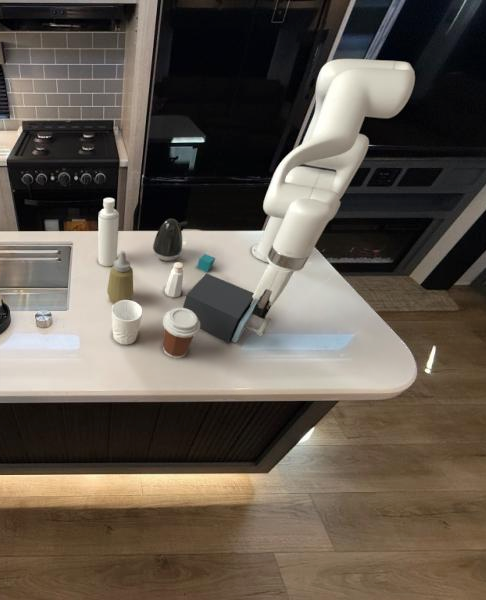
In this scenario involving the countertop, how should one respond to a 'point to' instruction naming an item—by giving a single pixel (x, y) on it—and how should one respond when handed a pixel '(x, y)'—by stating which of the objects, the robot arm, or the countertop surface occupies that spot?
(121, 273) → the squeeze bottle
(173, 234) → the pump dispenser
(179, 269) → the pepper shaker
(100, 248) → the white bottle
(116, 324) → the white cup
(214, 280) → the dark grey drawer cabinet
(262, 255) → the robot arm
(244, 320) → the drawer
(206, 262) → the teal cube
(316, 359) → the countertop surface
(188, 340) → the coffee cup
